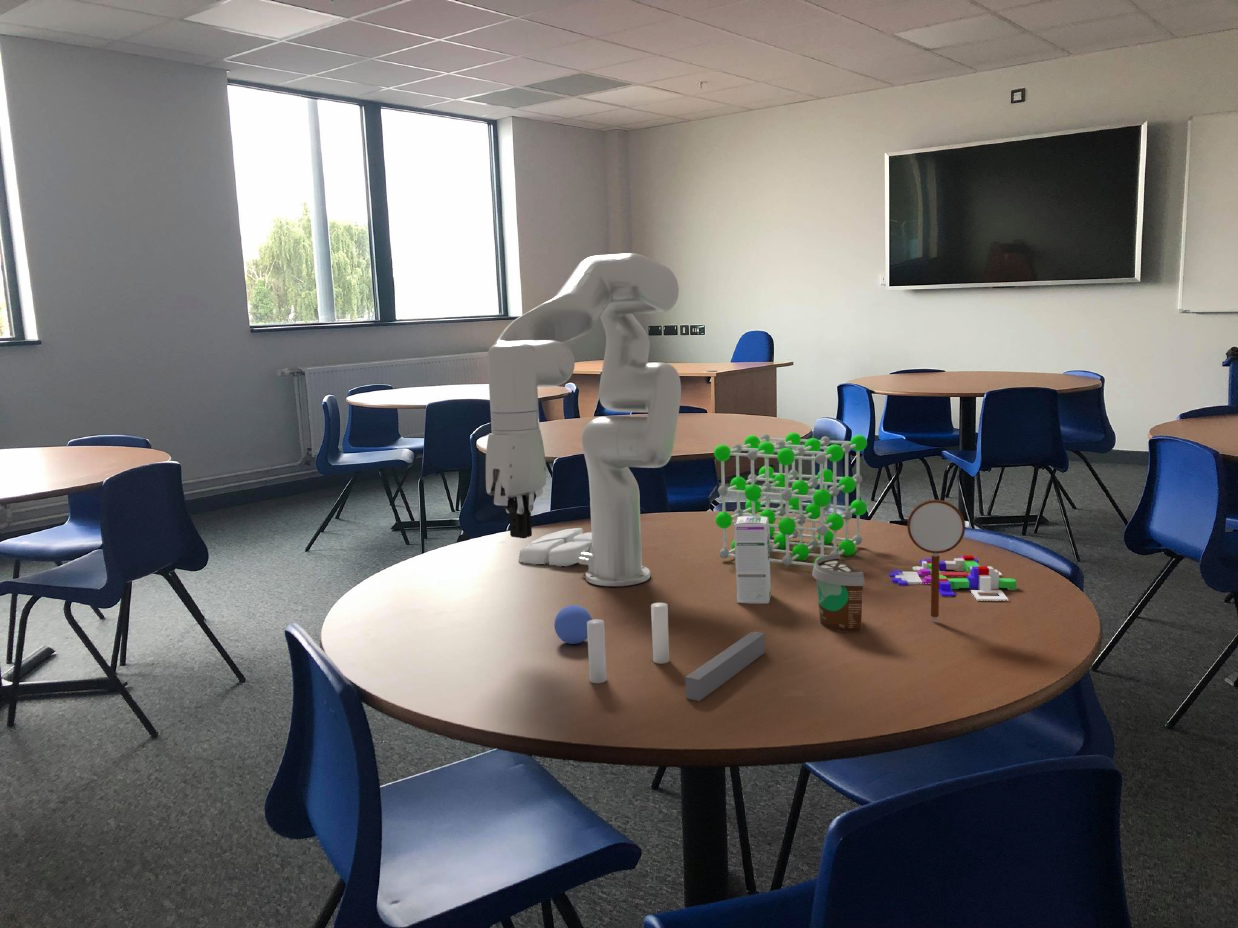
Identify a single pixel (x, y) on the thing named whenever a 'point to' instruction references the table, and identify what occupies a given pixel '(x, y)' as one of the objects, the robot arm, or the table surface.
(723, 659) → the stopper wall
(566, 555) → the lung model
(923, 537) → the magnifying glass
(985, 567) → the building block set
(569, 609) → the ball
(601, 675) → the grey pin
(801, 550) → the molecular structure model
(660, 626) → the white pin
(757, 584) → the syrup box
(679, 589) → the table surface
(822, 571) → the food container
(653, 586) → the table surface
